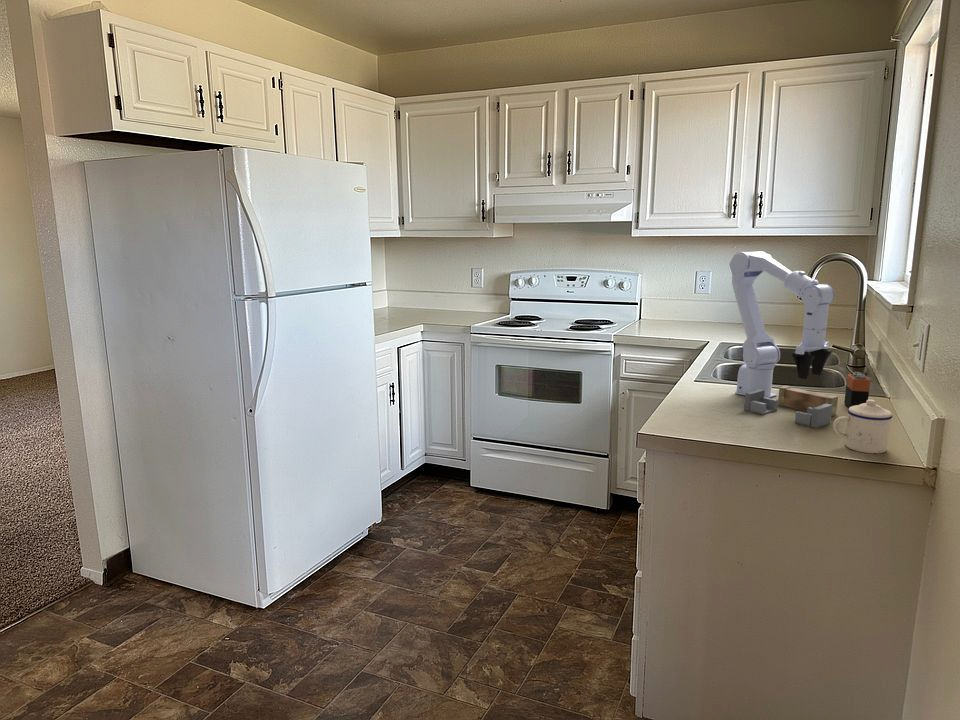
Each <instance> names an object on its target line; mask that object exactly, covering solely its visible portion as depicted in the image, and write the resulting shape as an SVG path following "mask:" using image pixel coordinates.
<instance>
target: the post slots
mask: <svg viewBox="0 0 960 720" xmlns="http://www.w3.org/2000/svg"><path fill="white" fill-rule="evenodd" d="M764 392H765V390H762V389H758V390H754V391H751V392H747V393H745V395H744V404H743V405H744V406H743V410H744V411H746V412H750V413H754V414H758V413H759V414H758V415H763V416H764V415H767V414H770V413H772V412H776V411H778V406H779V405H778V399H775V398H772V397H770V398H767V397H764ZM831 412H832V405H831V404H823V405H820V406H817V407H814V408H811V407H809V408H807V411H806V412H805V411H801V410H798V411H795V417H794V424H798V425H803V426H806V427H811V428H814V429H818V428H821V427H824V426H826V425H828V424H831V420H832V416H831Z"/></svg>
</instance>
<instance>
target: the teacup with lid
mask: <svg viewBox="0 0 960 720" xmlns="http://www.w3.org/2000/svg"><path fill="white" fill-rule="evenodd" d="M847 414H848V415H847V416H844V415H843V416H838V417H837V418H835V419H834V421H833V424H832V427H833V430H834V432H835V433H836V434H837V435H838V436H839V437H841V438H845V440H844V446H846V447H847V448H849V449H851V450H853V451H856V452H860V453H865V454H874V453H876V454H883V453H885V452H886V451H887V450H888V442H889V435H890V428H891V421H892V418H893V413H892V412H891V411H890V410H888V409H886V408H883V407H882V406H880V405H879V404H877V401H876V400H874V399H869V398H868V400H867V401H866V403H863V404H860V405H856V406H851V407H850V408H849V407H848V409H847ZM841 421H847V423H846V430H845V433H842V432H839V429H838V424H839V423H840V422H841Z"/></svg>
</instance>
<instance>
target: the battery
mask: <svg viewBox="0 0 960 720" xmlns="http://www.w3.org/2000/svg"><path fill="white" fill-rule="evenodd" d="M870 387H871V379H870V378H868V377H867V376H866V374H862V373H861V372H859V371H854V373H848V374H847V376H846V385H845V392H844V393H845V394H844V401H843V404H845V406H846V407H848V409H849V408H850V407H851V406H856V405H860V404H863V403H866V401H867V400H869V396H870Z"/></svg>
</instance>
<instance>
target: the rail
mask: <svg viewBox="0 0 960 720" xmlns="http://www.w3.org/2000/svg"><path fill="white" fill-rule="evenodd" d="M777 397H778V399H777V400H778V406H782V407H783V406H784V407H788V408H792V409H796V410H798V411H803V412H807V408H809V407H811V408H814V407H817V406H820V405H823V404H831V405H832V412H831V417H832V416H836V415H837V411H838V410H837V409H838V399H839V396H838V395H833V394H832V395H830V394H825V393H820V392H815V391H810V390H806V389H801V388H796V387H791V386H790V385H783V386H779V388H778V396H777Z"/></svg>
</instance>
